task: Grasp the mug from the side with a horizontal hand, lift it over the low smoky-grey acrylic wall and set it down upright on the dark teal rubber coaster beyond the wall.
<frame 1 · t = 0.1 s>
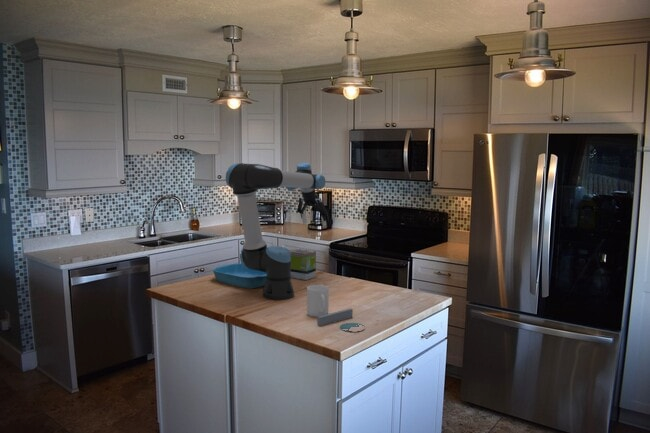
hand: (314, 224, 295), 28 cm above the countertop, tool tilted 20°, fingers open, 13 cm apart
tea box: (300, 277, 288), on the countertop
mug: (319, 315, 224), on the countertop
wall: (335, 321, 216), on the countertop
casserole dish: (244, 282, 276), on the countertop
pad: (352, 328, 208), on the countertop
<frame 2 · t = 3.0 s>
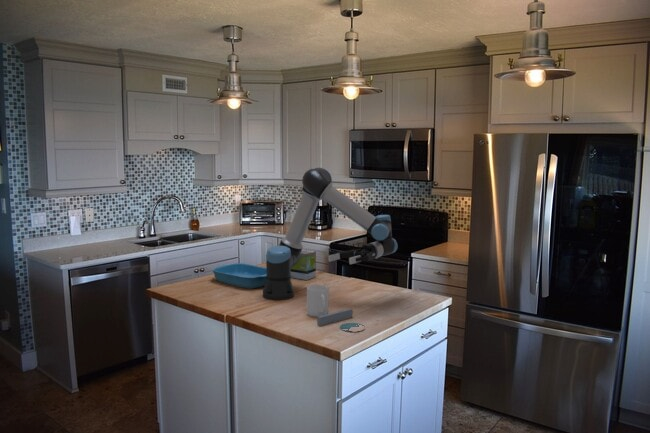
hand: (339, 260, 231), 22 cm above the countertop, tool horizontal, fingers open, 13 cm apart
nothing on the countertop moved.
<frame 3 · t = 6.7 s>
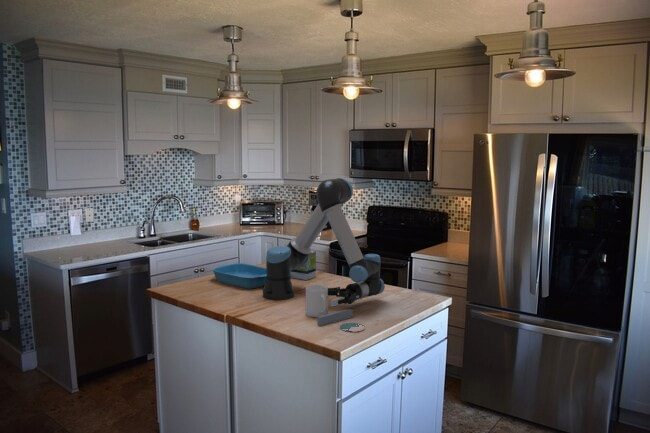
hand: (320, 299, 223), 7 cm above the countertop, tool horizontal, fingers open, 13 cm apart
mug: (318, 315, 223), on the countertop, touching gripper
everything else where it was.
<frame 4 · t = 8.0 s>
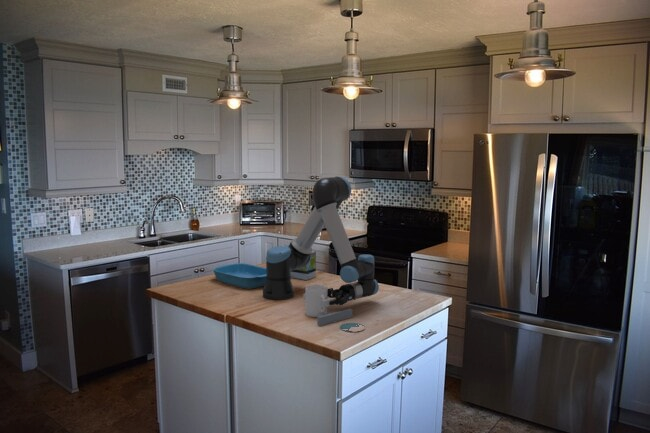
hand: (313, 300, 221), 7 cm above the countertop, tool horizontal, fingers closed on mug, 12 cm apart
mug: (318, 315, 223), on the countertop, touching gripper
everything else where it was.
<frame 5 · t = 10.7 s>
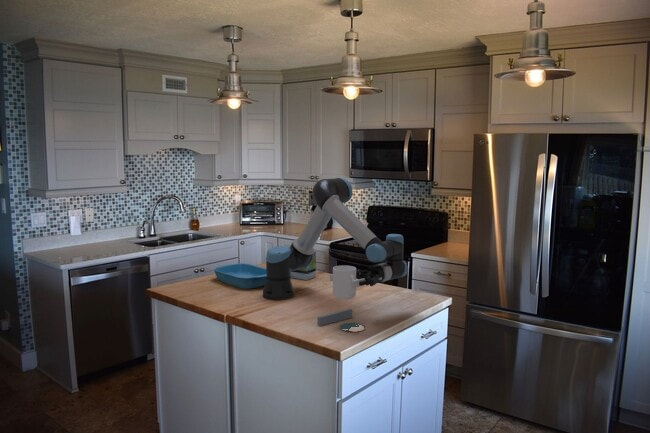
hand: (341, 281, 206), 19 cm above the countertop, tool horizontal, fingers closed on mug, 12 cm apart
mug: (346, 297, 209), point 12 cm above the countertop, touching gripper
when the fingers open (9 cm above the countertop, at t = 13.4 s): mug drops 2 cm, resting on pad.
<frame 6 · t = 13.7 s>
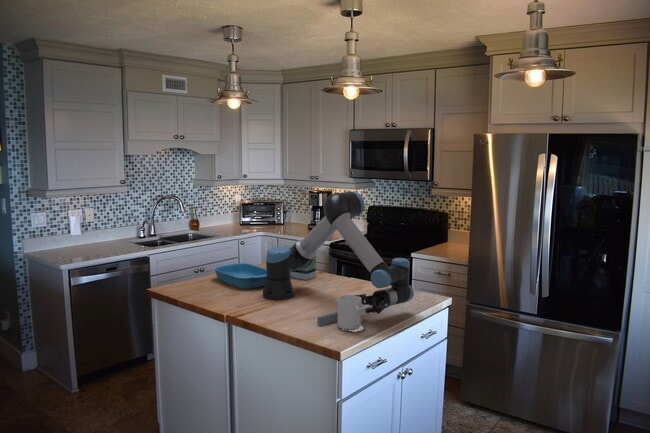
hand: (346, 307, 204), 9 cm above the countertop, tool horizontal, fingers open, 13 cm apart
mug: (351, 327, 207), resting on pad
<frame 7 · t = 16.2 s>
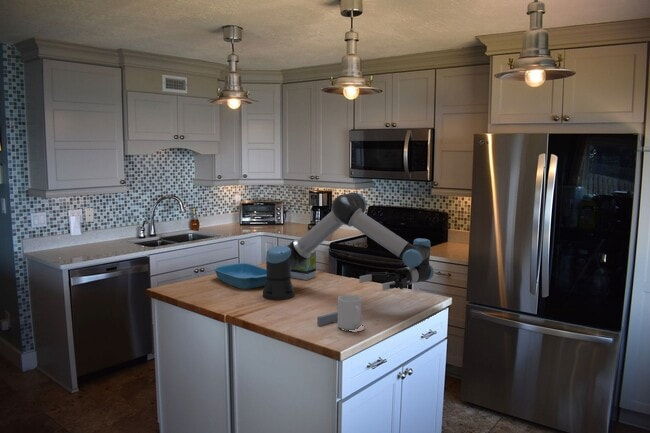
hand: (371, 283, 215), 16 cm above the countertop, tool horizontal, fingers open, 13 cm apart
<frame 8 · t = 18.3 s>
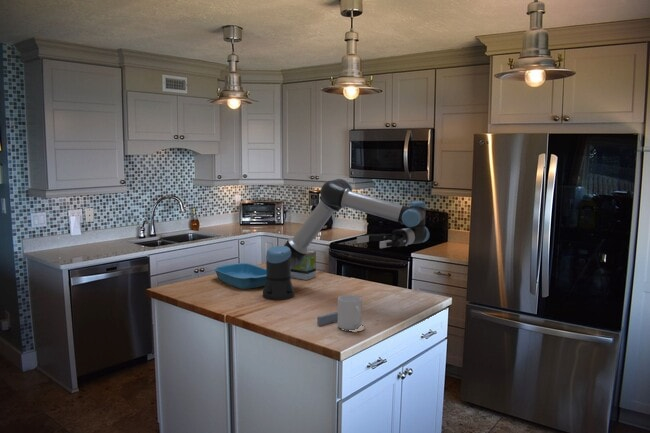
hand: (368, 242, 219), 32 cm above the countertop, tool horizontal, fingers open, 13 cm apart
at the end: mug 0.5 cm from the pad (horizontally); mug tilted 0°; the gripper is holding nothing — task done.
